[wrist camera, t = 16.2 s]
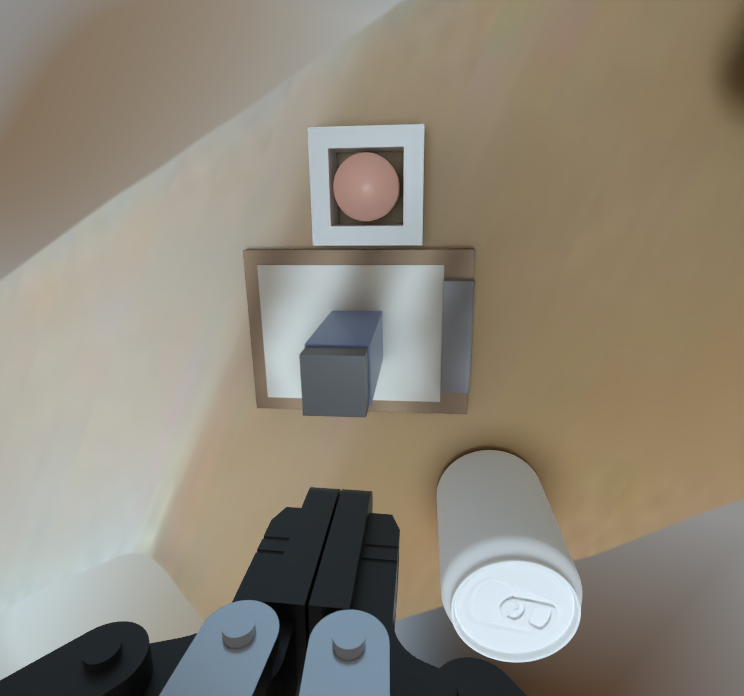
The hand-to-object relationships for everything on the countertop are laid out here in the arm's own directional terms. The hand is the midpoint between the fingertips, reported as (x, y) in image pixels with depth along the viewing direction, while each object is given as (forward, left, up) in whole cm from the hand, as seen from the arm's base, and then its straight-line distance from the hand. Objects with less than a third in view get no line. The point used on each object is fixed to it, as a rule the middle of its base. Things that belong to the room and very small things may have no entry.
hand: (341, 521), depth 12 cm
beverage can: (-7, +15, -25) cm, 30 cm away
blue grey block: (+3, +2, -23) cm, 24 cm away
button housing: (+2, -8, -24) cm, 26 cm away
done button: (+2, -8, -24) cm, 26 cm away
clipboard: (+3, +2, -24) cm, 25 cm away
